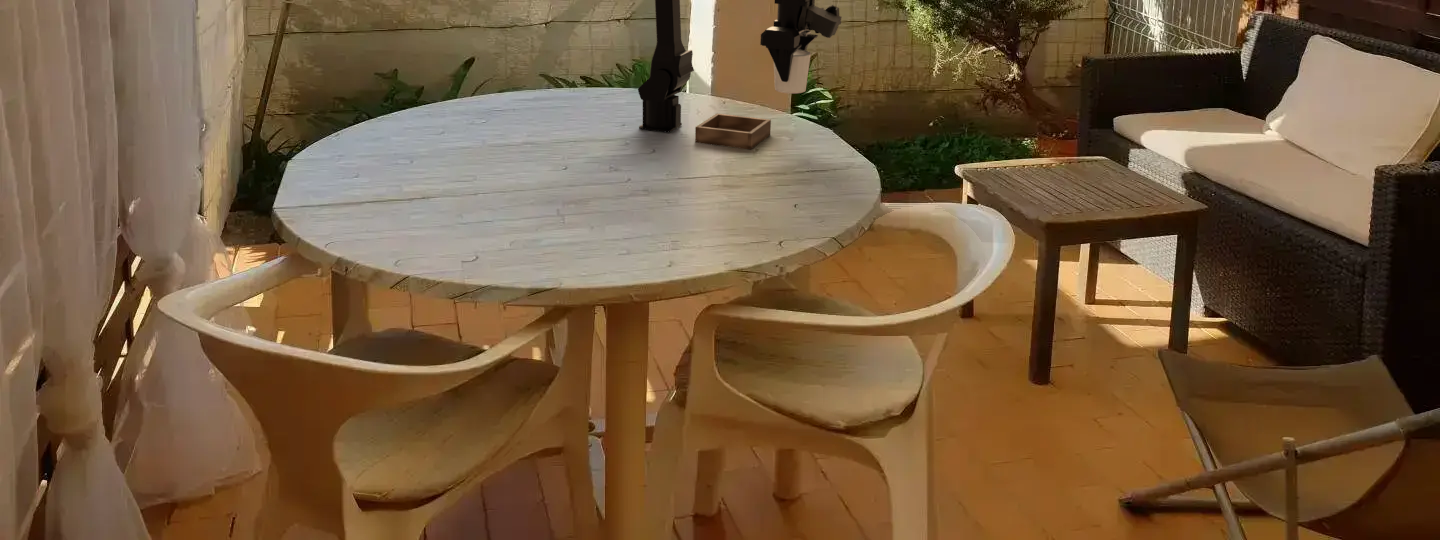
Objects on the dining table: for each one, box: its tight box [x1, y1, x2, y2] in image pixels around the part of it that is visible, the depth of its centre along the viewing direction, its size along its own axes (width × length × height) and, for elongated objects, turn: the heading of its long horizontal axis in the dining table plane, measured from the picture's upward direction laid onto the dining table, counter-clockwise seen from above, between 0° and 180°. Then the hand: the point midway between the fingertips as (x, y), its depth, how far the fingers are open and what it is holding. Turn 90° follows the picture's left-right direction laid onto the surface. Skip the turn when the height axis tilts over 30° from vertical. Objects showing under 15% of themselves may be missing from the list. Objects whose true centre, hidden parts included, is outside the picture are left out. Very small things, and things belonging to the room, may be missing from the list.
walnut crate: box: [694, 113, 772, 150], centre depth 237 cm, size 11×11×3 cm
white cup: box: [772, 49, 812, 94], centre depth 230 cm, size 7×7×7 cm
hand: (790, 77), depth 231 cm, fingers closed on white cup, 6 cm apart
